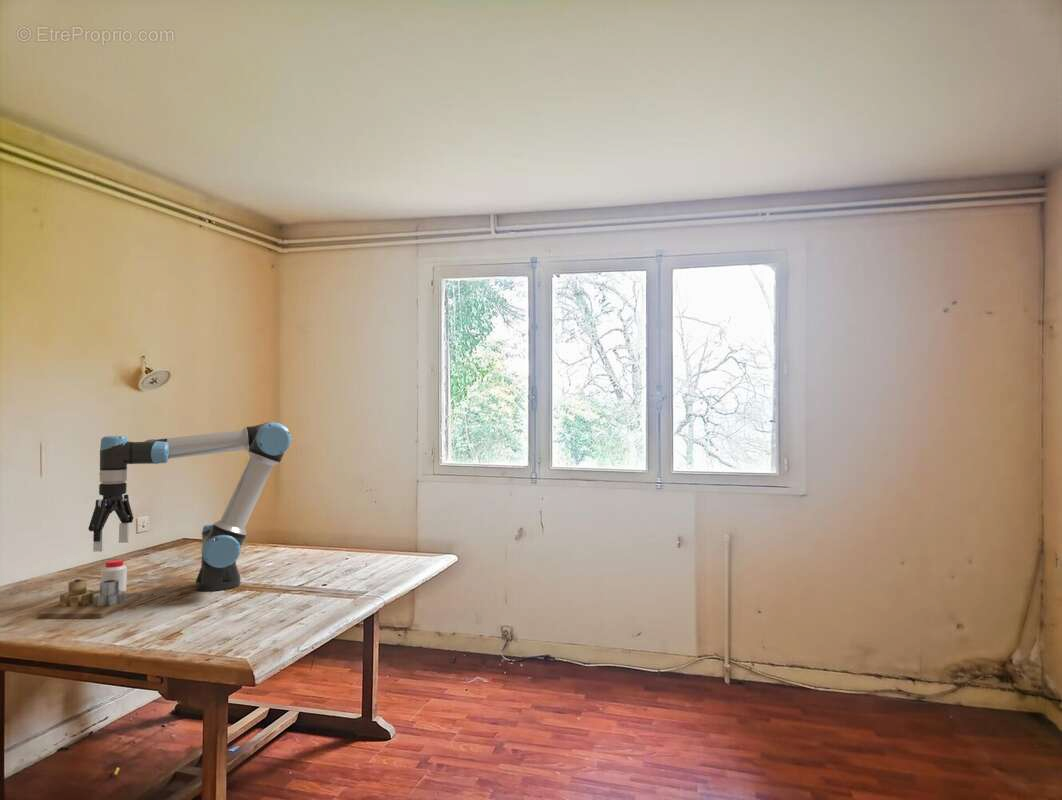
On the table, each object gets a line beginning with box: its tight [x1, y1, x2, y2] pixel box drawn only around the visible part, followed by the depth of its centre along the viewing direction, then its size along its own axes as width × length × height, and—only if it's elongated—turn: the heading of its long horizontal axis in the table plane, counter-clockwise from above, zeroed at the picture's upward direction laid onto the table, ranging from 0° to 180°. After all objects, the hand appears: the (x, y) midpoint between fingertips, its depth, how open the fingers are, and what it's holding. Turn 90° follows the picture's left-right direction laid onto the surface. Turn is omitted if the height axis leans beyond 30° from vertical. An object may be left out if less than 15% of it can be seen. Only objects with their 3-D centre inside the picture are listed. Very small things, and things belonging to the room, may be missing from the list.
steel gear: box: [92, 579, 126, 607], centre depth 203 cm, size 9×9×7 cm
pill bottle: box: [100, 558, 128, 592], centre depth 220 cm, size 8×8×11 cm
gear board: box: [37, 578, 143, 619], centre depth 202 cm, size 19×22×9 cm
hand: (111, 546), depth 203 cm, fingers open, 13 cm apart
